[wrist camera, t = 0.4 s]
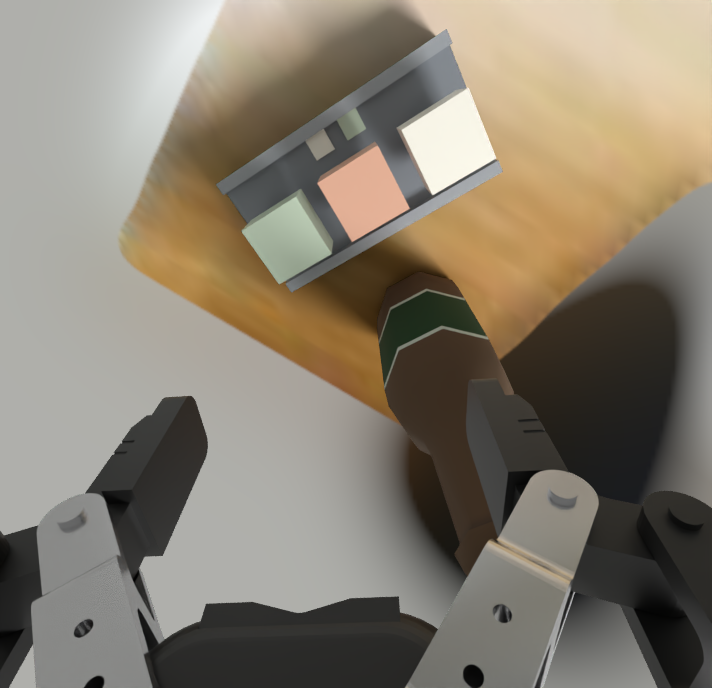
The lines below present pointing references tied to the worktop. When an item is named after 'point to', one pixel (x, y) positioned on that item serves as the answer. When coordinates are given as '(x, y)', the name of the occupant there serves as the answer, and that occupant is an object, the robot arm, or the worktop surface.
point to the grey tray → (349, 136)
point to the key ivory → (447, 141)
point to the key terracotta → (363, 192)
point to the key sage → (289, 237)
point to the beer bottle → (440, 391)
